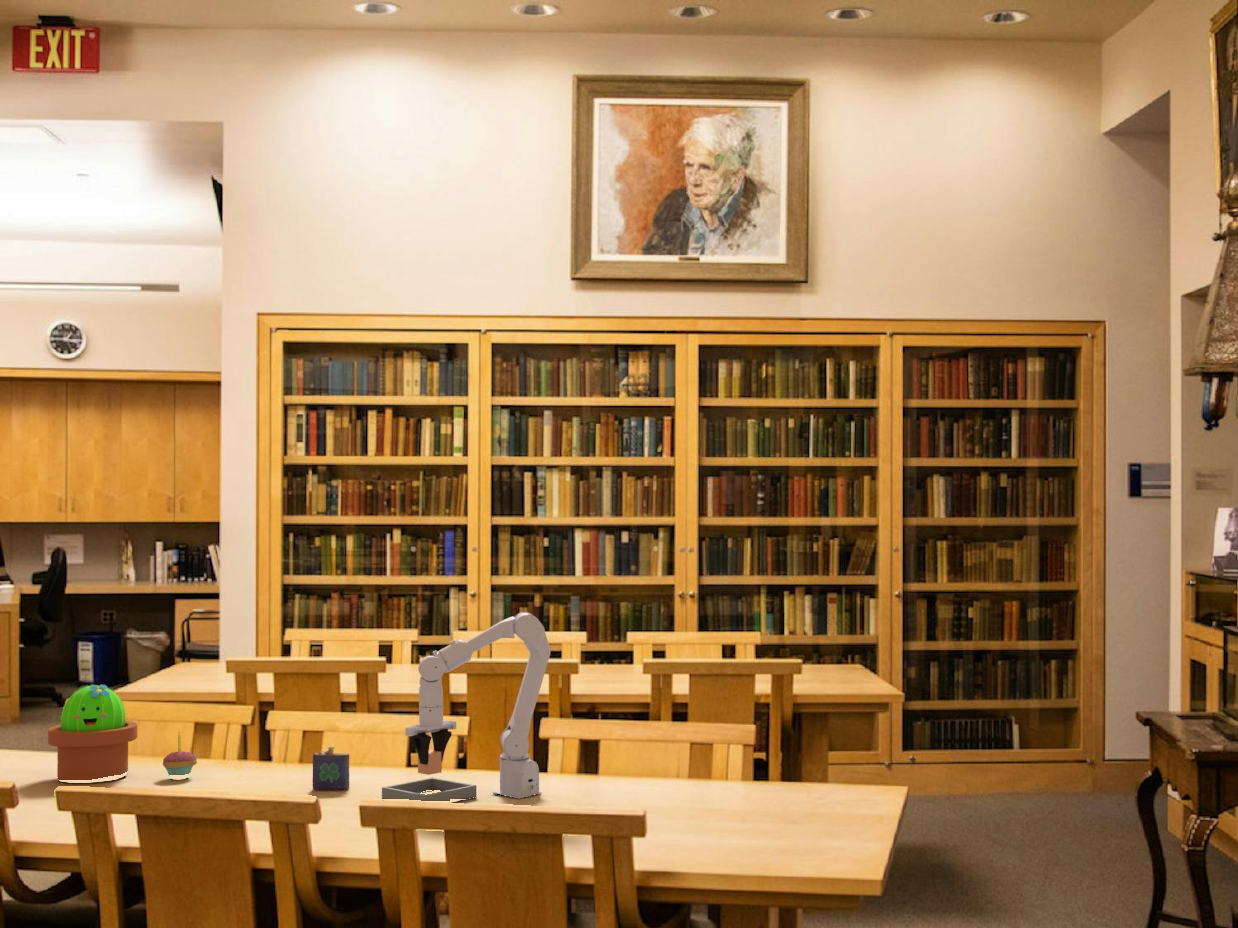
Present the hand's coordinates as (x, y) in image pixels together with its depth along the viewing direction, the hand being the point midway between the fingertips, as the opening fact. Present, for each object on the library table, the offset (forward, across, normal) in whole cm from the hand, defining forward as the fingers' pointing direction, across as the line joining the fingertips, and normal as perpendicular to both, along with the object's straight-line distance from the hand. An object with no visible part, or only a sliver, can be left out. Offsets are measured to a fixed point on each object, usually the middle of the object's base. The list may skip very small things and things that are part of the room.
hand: (431, 762), depth 333 cm
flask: (+9, +10, -27) cm, 30 cm away
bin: (+8, +1, +1) cm, 9 cm away
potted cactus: (+9, +40, -89) cm, 98 cm away
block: (+2, 0, -1) cm, 3 cm away
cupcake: (+9, +26, -70) cm, 75 cm away
